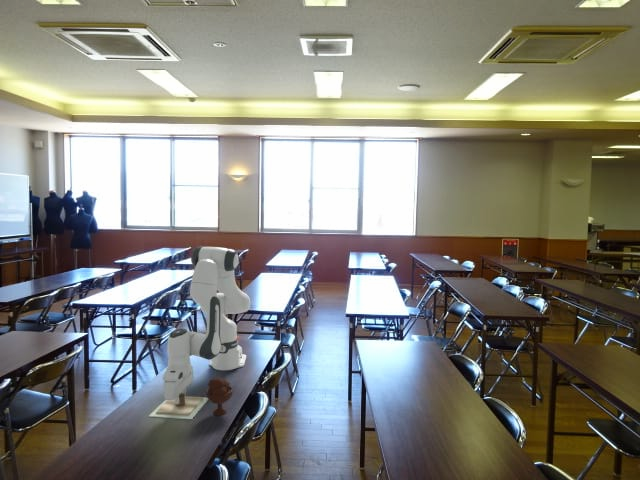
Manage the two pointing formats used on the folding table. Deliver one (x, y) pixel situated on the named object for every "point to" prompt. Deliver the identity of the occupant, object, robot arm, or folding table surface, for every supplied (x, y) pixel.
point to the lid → (180, 406)
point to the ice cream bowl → (219, 394)
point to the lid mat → (179, 415)
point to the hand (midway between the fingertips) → (180, 400)
